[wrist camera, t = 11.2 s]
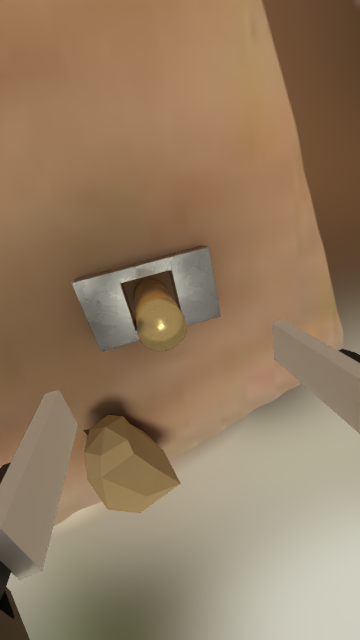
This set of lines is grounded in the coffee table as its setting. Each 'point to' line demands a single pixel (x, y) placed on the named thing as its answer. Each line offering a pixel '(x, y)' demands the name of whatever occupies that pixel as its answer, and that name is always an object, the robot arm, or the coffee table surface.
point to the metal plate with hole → (106, 287)
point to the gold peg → (158, 317)
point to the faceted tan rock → (126, 466)
